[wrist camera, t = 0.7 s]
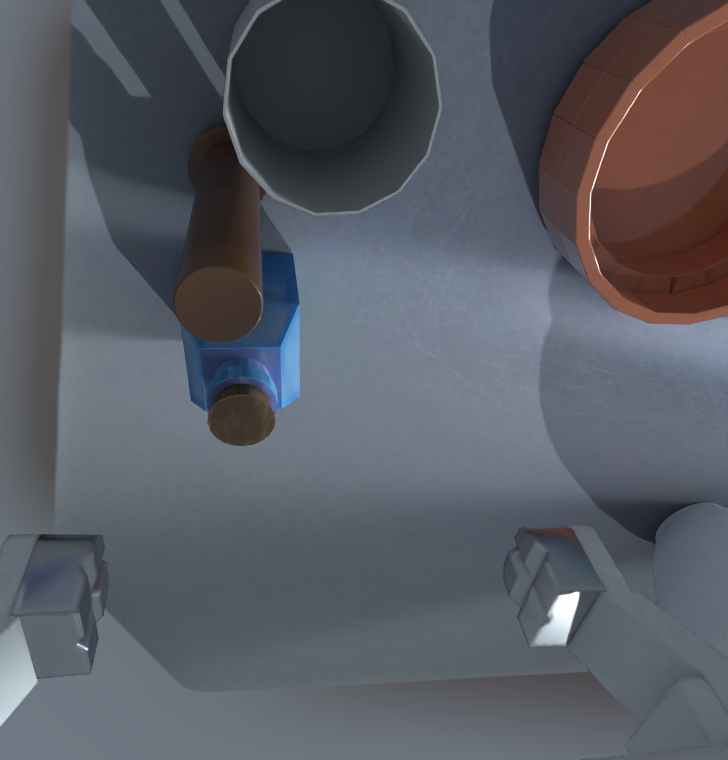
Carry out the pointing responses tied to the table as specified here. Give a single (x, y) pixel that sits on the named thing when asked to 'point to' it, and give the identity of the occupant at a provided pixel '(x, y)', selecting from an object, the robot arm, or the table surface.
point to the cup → (330, 101)
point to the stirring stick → (221, 244)
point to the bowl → (646, 165)
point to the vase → (695, 571)
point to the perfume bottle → (250, 363)
